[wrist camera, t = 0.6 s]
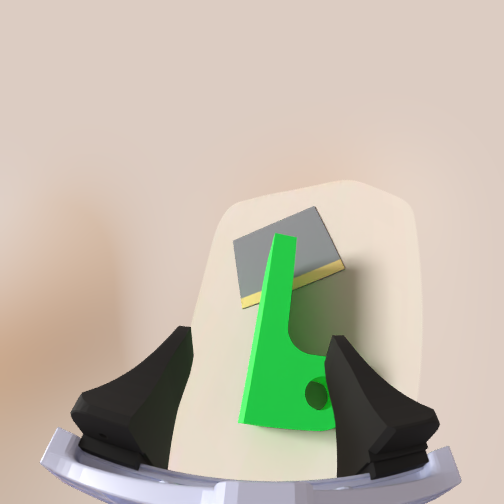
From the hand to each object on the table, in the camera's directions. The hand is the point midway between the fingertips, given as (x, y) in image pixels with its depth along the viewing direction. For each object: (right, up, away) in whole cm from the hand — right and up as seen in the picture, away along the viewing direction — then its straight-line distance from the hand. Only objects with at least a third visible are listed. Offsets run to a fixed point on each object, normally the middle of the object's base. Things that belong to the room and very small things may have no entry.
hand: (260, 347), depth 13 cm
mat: (+4, +5, +25) cm, 26 cm away
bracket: (+6, -5, +16) cm, 18 cm away
